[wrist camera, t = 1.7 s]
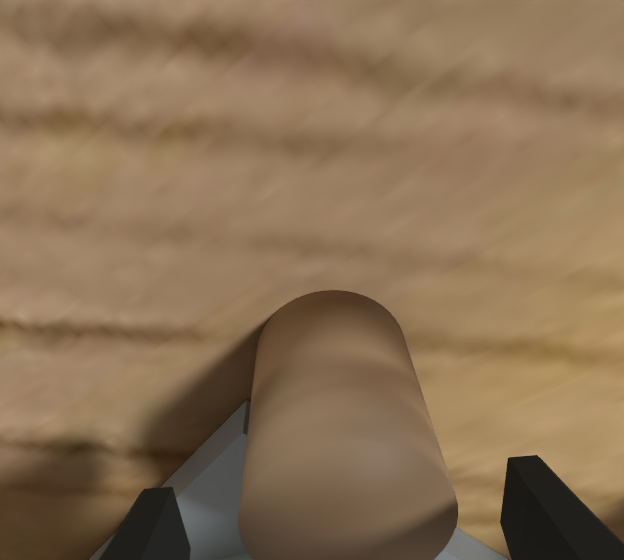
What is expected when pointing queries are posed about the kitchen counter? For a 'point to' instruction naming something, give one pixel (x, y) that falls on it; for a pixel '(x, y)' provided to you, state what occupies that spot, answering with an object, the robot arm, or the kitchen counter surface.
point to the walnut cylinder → (341, 440)
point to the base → (226, 496)
